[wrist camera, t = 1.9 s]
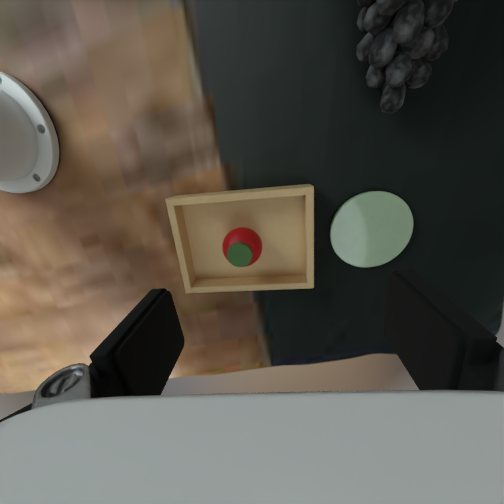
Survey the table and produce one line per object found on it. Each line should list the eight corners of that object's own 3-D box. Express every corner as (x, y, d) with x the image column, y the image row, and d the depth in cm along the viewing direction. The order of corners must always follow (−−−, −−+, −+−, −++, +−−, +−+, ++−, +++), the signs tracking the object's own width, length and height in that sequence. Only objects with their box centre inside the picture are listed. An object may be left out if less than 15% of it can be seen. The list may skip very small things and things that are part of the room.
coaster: (328, 267, 30) (329, 269, 29) (330, 194, 27) (331, 194, 26) (405, 263, 29) (407, 265, 28) (416, 187, 26) (419, 187, 25)
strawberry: (229, 257, 30) (220, 276, 25) (224, 223, 28) (214, 236, 23) (264, 255, 29) (262, 274, 24) (261, 220, 28) (259, 233, 23)
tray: (192, 282, 32) (185, 293, 30) (175, 195, 28) (164, 199, 25) (310, 277, 30) (313, 288, 28) (310, 183, 26) (314, 186, 24)
